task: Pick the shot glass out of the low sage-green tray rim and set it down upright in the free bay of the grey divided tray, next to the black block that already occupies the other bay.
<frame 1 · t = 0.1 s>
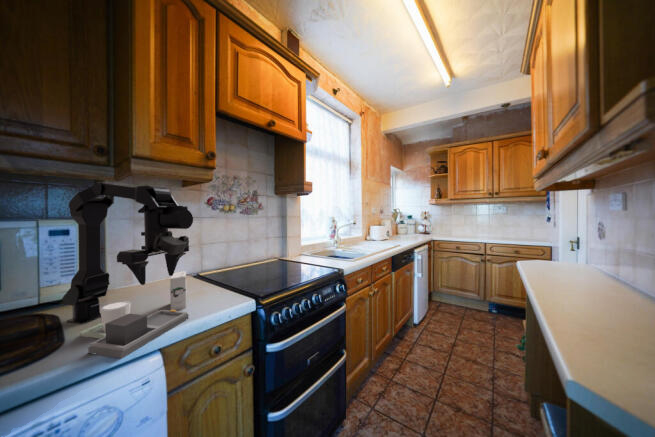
hand: (157, 279, 71), 15 cm above the countertop, fingers open, 9 cm apart
grey divided tray: (145, 333, 68), on the countertop
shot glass: (116, 328, 71), resting in tray rim
ink box: (179, 305, 88), on the countertop
tray rim: (116, 328, 71), on the countertop
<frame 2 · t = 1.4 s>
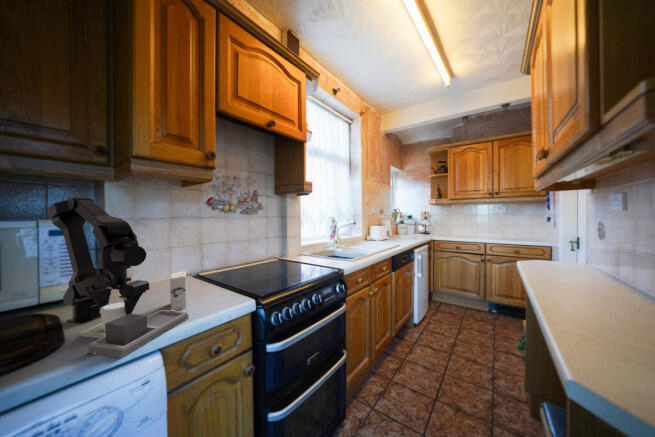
hand: (115, 314, 71), 4 cm above the countertop, fingers open, 9 cm apart
nothing on the countertop moved.
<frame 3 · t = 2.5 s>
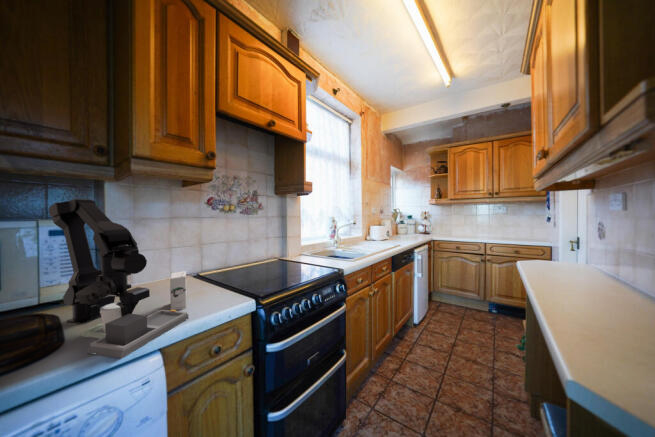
hand: (116, 321, 71), 2 cm above the countertop, fingers closed on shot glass, 6 cm apart
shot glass: (116, 328, 71), resting in tray rim, touching gripper
everything else where it was.
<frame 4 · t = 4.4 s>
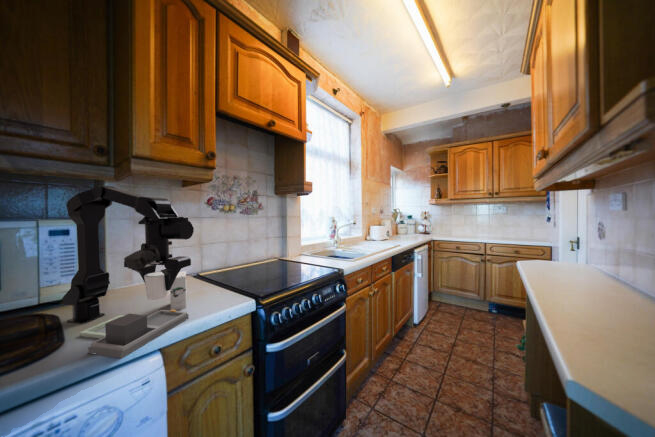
hand: (158, 289, 72), 11 cm above the countertop, fingers closed on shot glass, 6 cm apart
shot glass: (159, 296, 72), point 9 cm above the countertop, touching gripper
everything else where it was.
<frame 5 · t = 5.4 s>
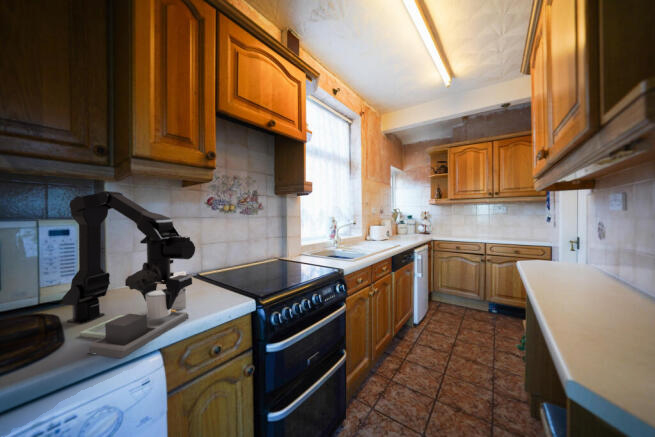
hand: (159, 308, 72), 5 cm above the countertop, fingers closed on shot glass, 6 cm apart
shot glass: (159, 315, 72), point 3 cm above the countertop, touching gripper
everything else where it was.
when the fingers open (5 cm above the countertop, at t = 6.4 s): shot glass drops 1 cm, resting on grey divided tray.
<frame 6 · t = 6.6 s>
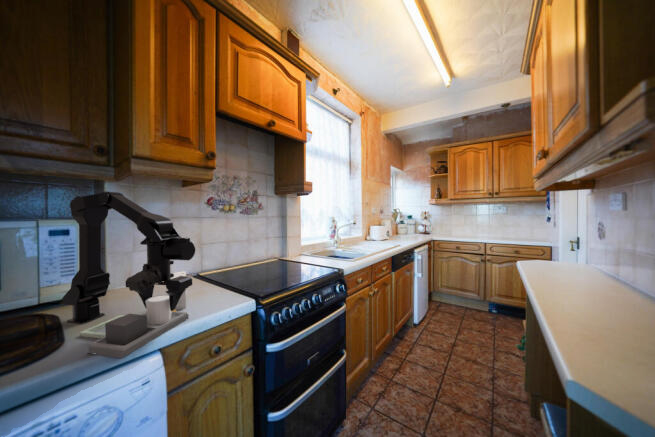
hand: (160, 309, 72), 5 cm above the countertop, fingers open, 9 cm apart
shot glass: (160, 321, 72), point 1 cm above the countertop, touching grey divided tray
everything else where it was.
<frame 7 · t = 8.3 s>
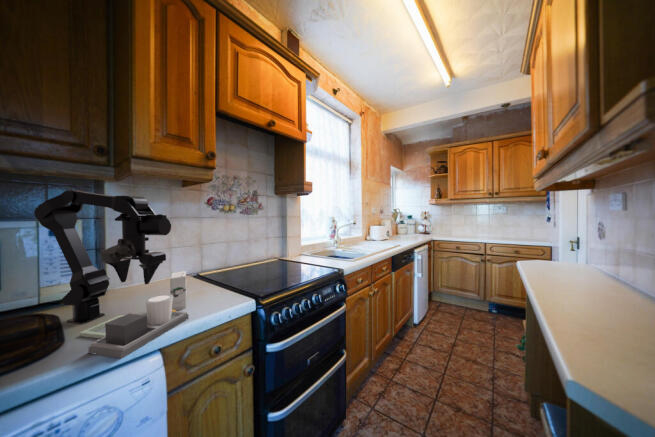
hand: (135, 283, 76), 12 cm above the countertop, fingers open, 9 cm apart
nothing on the countertop moved.
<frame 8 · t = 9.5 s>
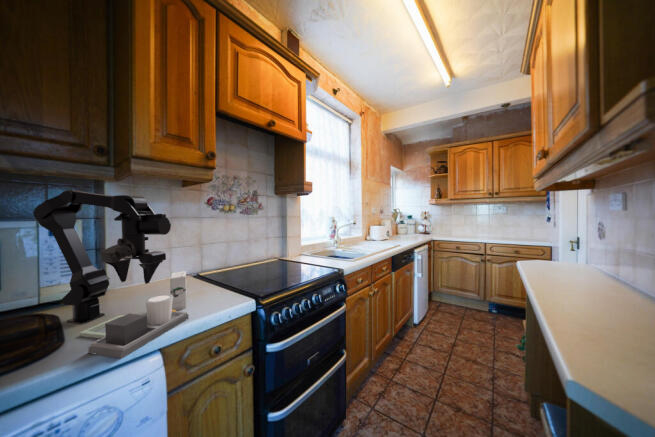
hand: (135, 282, 76), 12 cm above the countertop, fingers open, 9 cm apart
nothing on the countertop moved.
at the end: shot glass 0.1 cm from the target spot on the grey divided tray, point 1.3 cm above the grey divided tray's base; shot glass tilted 0°; the gripper is holding nothing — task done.
